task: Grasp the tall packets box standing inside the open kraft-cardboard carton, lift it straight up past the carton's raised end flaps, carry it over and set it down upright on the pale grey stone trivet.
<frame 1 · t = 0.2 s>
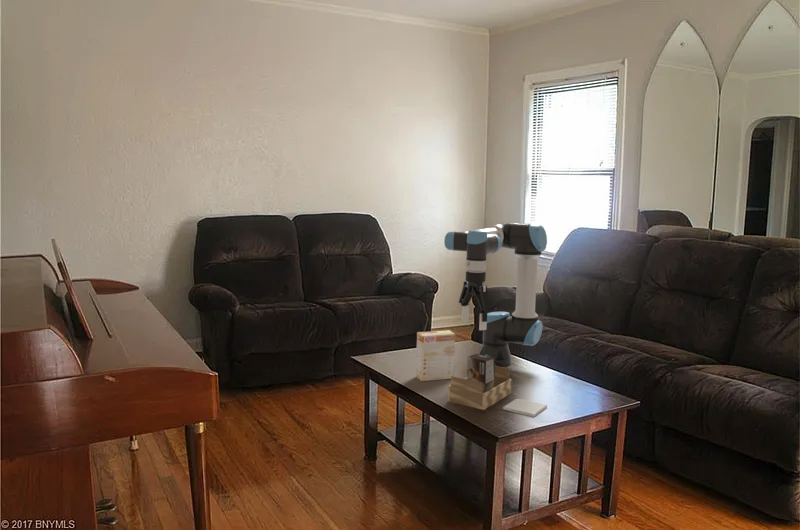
hand: (473, 326, 248), 28 cm above the table, fingers open, 13 cm apart
gemstone: (486, 381, 272), on the table
coffee box: (480, 398, 250), resting in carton
trivet: (525, 408, 239), on the table
coffeecake box: (434, 378, 274), on the table
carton: (480, 397, 250), on the table
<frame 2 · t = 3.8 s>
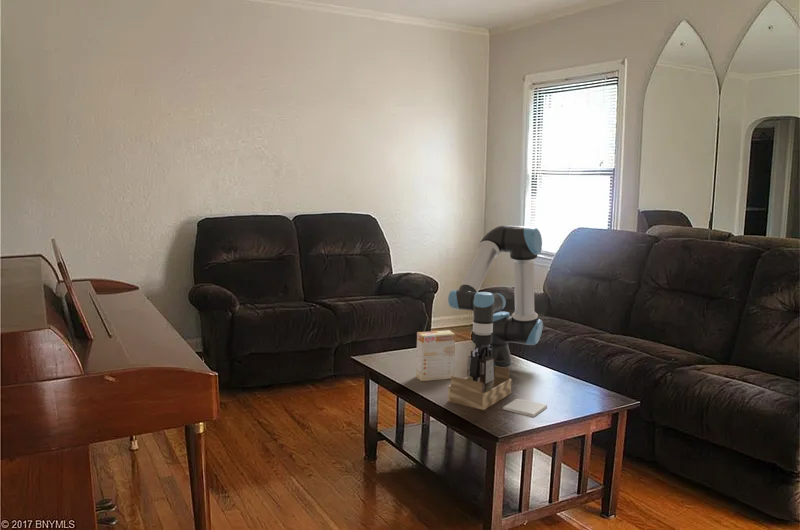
hand: (480, 391, 250), 3 cm above the table, fingers closed on coffee box, 7 cm apart
coffee box: (480, 397, 250), resting in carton, touching gripper
everything else where it was.
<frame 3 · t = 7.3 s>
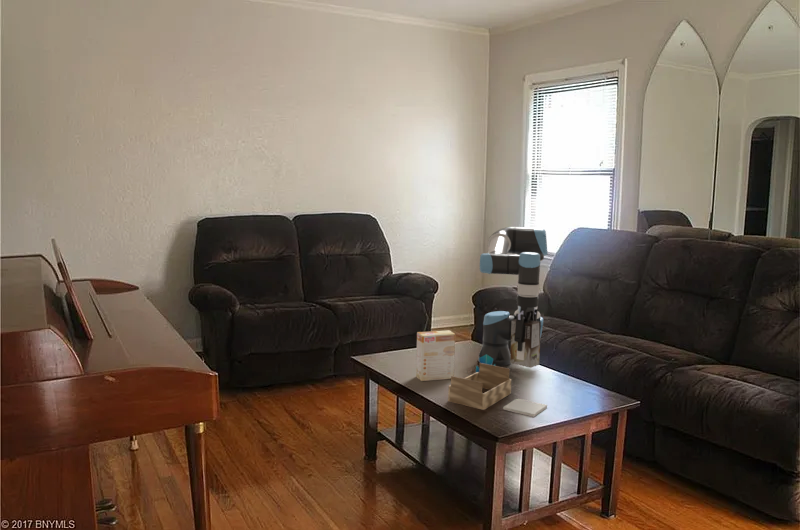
hand: (524, 357, 237), 19 cm above the table, fingers closed on coffee box, 7 cm apart
coffee box: (524, 364, 238), point 17 cm above the table, touching gripper
everything else where it was.
when the fingers open (4 cm above the table, at t = 11.0 s): coffee box stays where it is, resting on trivet.
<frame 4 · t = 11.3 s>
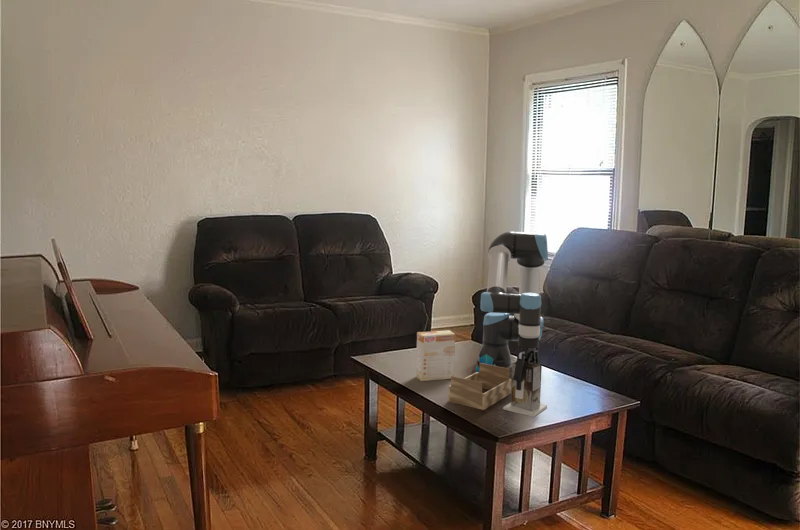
hand: (526, 393, 239), 6 cm above the table, fingers open, 11 cm apart
coffee box: (525, 406, 239), point 1 cm above the table, touching trivet
everything else where it was.
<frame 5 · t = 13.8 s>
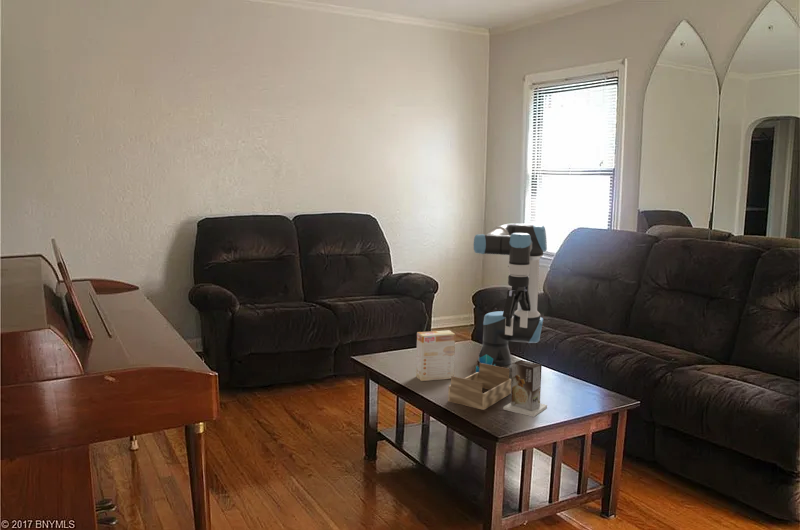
hand: (516, 331, 243), 27 cm above the table, fingers open, 13 cm apart
nothing on the table moved.
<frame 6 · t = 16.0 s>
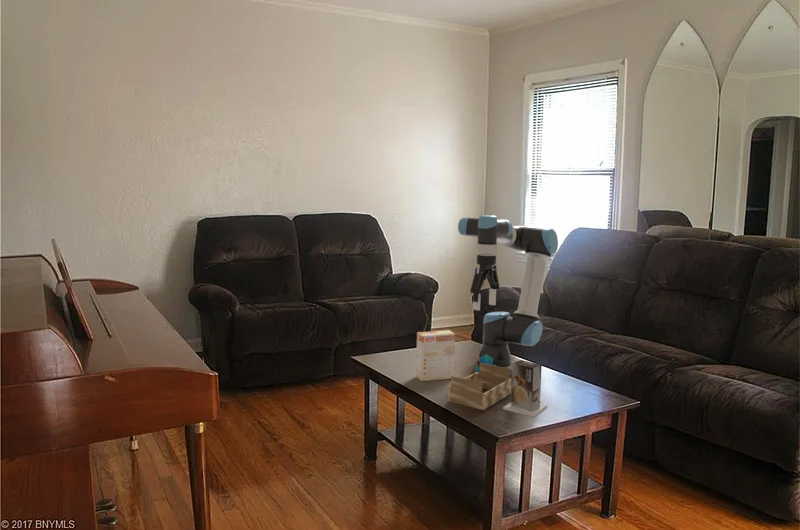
hand: (484, 307, 260), 33 cm above the table, fingers open, 13 cm apart
nothing on the table moved.
at the end: coffee box inside the target area on the trivet (0.0 cm from its centre), point 0.8 cm above the trivet's base; coffee box tilted 0°; the gripper is holding nothing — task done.
